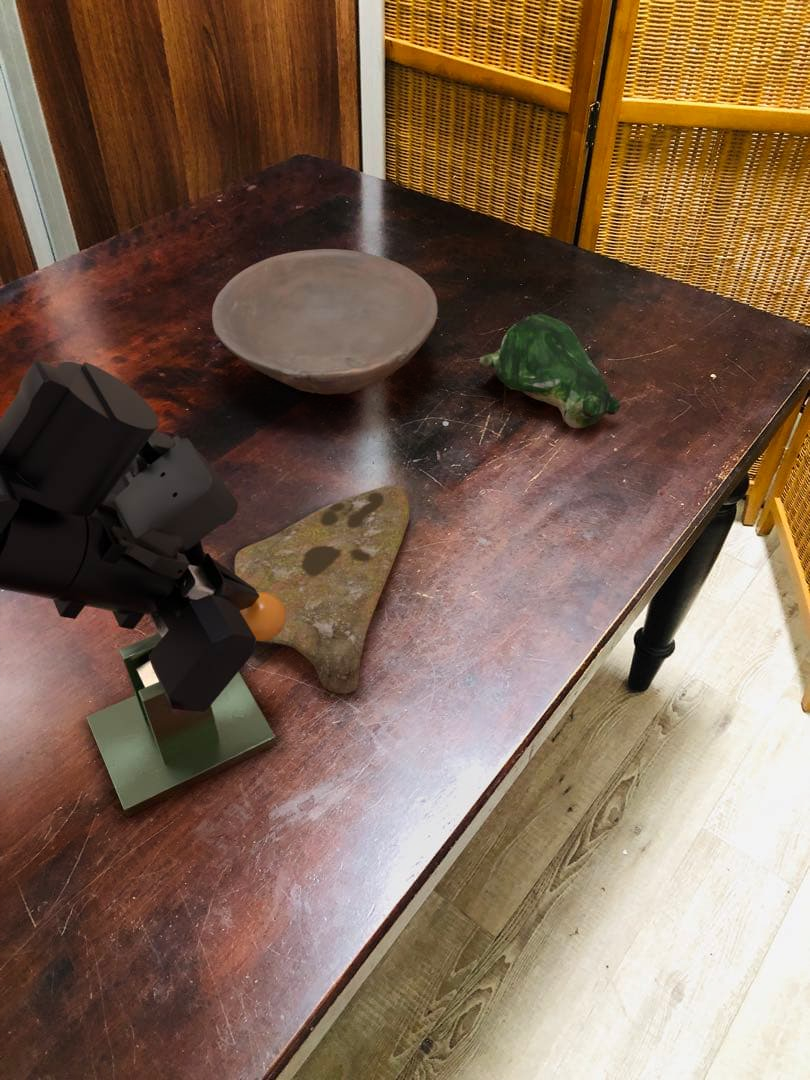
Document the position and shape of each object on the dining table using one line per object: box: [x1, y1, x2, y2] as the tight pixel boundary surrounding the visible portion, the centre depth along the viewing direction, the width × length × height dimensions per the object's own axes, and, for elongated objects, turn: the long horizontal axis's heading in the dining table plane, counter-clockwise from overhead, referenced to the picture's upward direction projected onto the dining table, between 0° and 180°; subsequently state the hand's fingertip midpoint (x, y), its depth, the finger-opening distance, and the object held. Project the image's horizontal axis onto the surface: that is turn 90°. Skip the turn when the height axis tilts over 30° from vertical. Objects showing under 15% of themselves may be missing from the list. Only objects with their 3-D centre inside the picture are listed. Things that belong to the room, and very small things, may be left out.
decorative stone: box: [233, 484, 411, 694], centre depth 81 cm, size 25×15×5 cm, turn 165°
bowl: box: [211, 248, 439, 395], centre depth 100 cm, size 25×25×8 cm
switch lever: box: [137, 592, 286, 688], centre depth 64 cm, size 11×4×4 cm, turn 121°
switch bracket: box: [85, 632, 277, 818], centre depth 65 cm, size 12×9×10 cm
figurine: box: [477, 313, 621, 429], centre depth 97 cm, size 14×9×15 cm
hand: (254, 597), depth 63 cm, fingers closed
